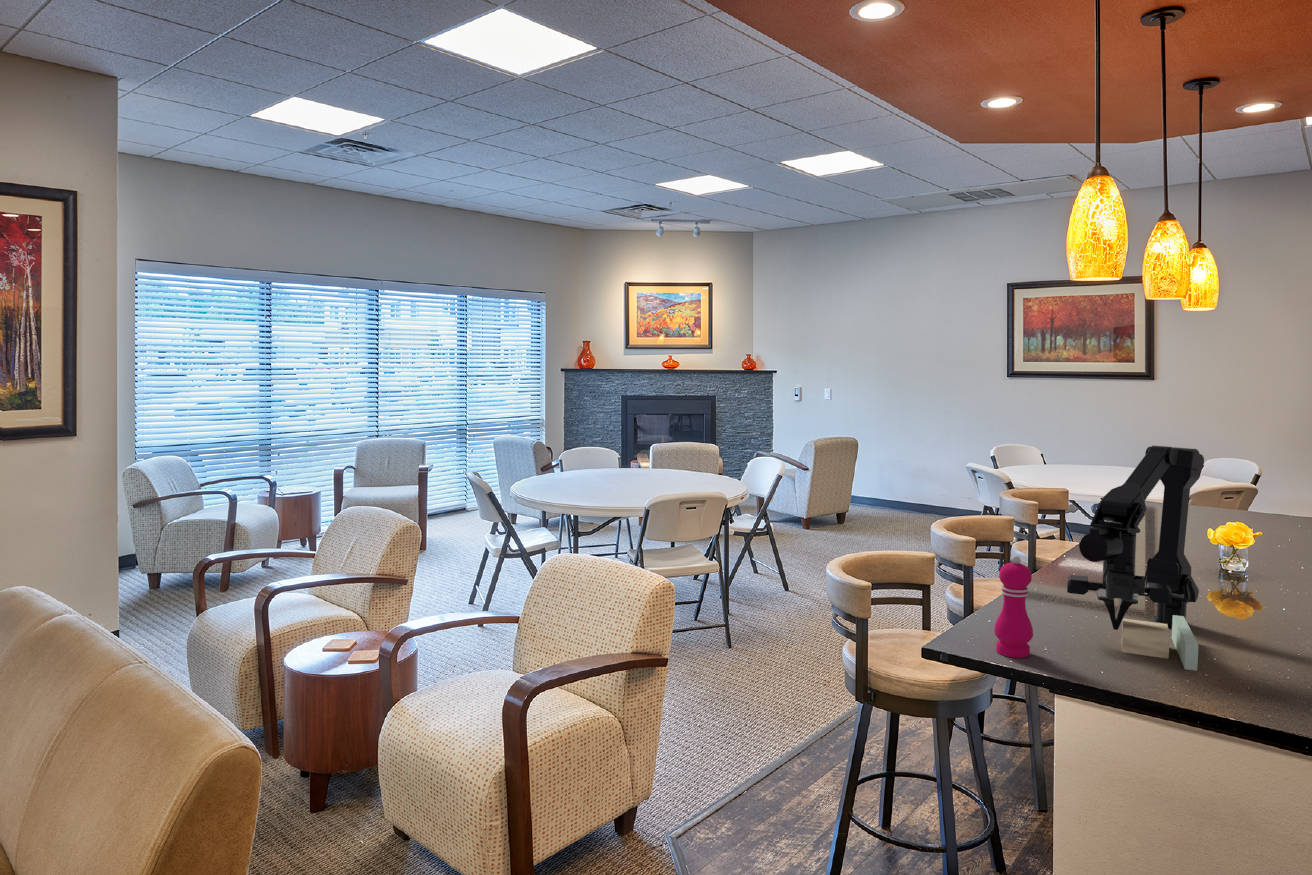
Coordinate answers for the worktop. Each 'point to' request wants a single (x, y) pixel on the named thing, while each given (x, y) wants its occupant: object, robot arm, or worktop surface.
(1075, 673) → the worktop surface
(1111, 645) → the worktop surface
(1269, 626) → the worktop surface
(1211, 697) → the worktop surface
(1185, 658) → the sage board
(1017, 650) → the pepper mill
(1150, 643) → the maple block
